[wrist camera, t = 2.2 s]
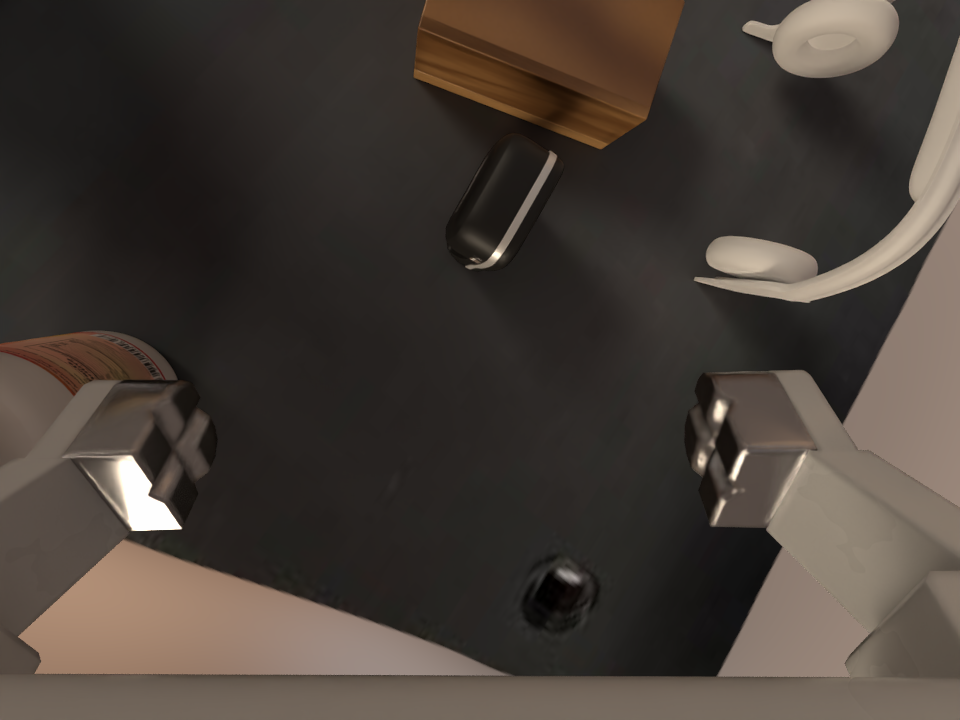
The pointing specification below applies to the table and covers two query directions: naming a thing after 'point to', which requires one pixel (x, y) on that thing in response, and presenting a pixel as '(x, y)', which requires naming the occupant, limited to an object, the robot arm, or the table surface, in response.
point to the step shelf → (551, 59)
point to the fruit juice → (63, 379)
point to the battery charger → (502, 203)
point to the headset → (934, 179)
